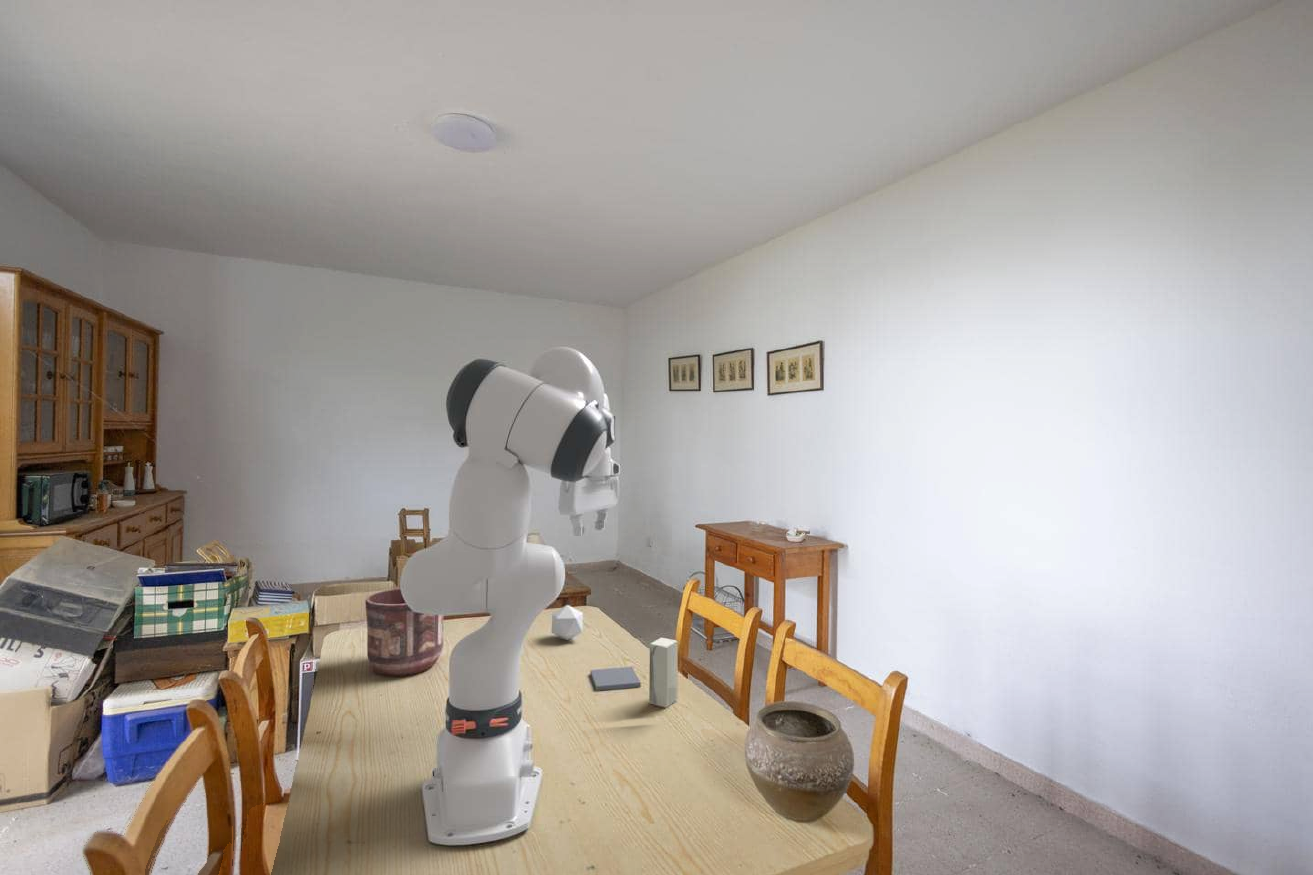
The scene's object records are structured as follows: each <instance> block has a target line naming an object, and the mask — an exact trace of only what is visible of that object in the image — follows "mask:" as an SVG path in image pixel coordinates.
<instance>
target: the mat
mask: <svg viewBox="0 0 1313 875" xmlns="http://www.w3.org/2000/svg"><path fill="white" fill-rule="evenodd" d="M590 676H591V679H592V683H593V685H594V688H595V690H596V692H599V691H600V692H601V691H610V690H611V691H612V690H622V689H623V690H624V689H634V688H641V681H640V680H641V679H639V677H638V675H637V673H636V672H635V670H634V668H633V667H632V666H624V667H613V668H610V667H609V668H599V669H590Z"/></svg>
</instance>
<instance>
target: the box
mask: <svg viewBox="0 0 1313 875" xmlns="http://www.w3.org/2000/svg"><path fill="white" fill-rule="evenodd" d="M678 644H679V641H678V640H676V639H672V638H671V639H670V638H665V637H660V638H658V639H656V640H654V641H652V642H651V643H649V682H648V683H649V690H648V691H649V692H648V693H649V695H648V696H649V697H648V699H649V700H648V701H649V704H650V705H655V706H658V707H661V708H665V709H667V708H668V707H669V706H671V705H672V704H673V703H674V702H676V701H677V700H678V696H679V695H678V685H679V684H678V678H679V676H678V675H679V674H678V668H679V667H678V666H679V662H678V661H679V658H678V655H679V654H678V653H679V646H678Z"/></svg>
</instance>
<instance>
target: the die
mask: <svg viewBox="0 0 1313 875" xmlns="http://www.w3.org/2000/svg"><path fill="white" fill-rule="evenodd" d="M551 615H552V617H551V634H553V635H554V636H557V637H559V638H561V639H563V640H565V641H569V640H571V639H573V638H575V637H577V636H579V635H580V634H582V633H583V625H584V624H583V622H584V612H582V611H580V610H578V609H576V608H574V607H572V606H570V605H569V604H566V605H565V606H563V607H561V608H559V609H558V610H556V611H554V612H552V614H551Z"/></svg>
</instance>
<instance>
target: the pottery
mask: <svg viewBox="0 0 1313 875" xmlns="http://www.w3.org/2000/svg"><path fill="white" fill-rule="evenodd" d="M365 613H366V629H367V633H366V634H367V637H366V638H367V640H366V641H367V642H366V644H367V647H366V652H367V653H366V654H367V658H368V661H369V663H370V666H371V668H372V669H373V671H374V672H375V673H377V674H379V675H380V676H381V675H382V676H383V677H392V678H395V677H396V678H397V677H399V678H401V677H411V676H414V675H415V676H416V675H419V674H421V673H424V672H426V671H428V670H431V668H432V667H433V666H434V665H435V664H436V663H437V661H438V660H439V658H440V657H441V655H442V652H443V650H444V620H445V619H444V618H445V616H444V615H433V614H425V613H417V612H414V611H413V610H411V609H410V608H409V607H408V605H407V604H406V602H405V601H404V599H403V596H402V593H401V588H400V587H399V588H392V589H391V588H390V589H387V590H383V591H378V592H375V593H373V594H371V595H369V596H367V597H366V599H365Z"/></svg>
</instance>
